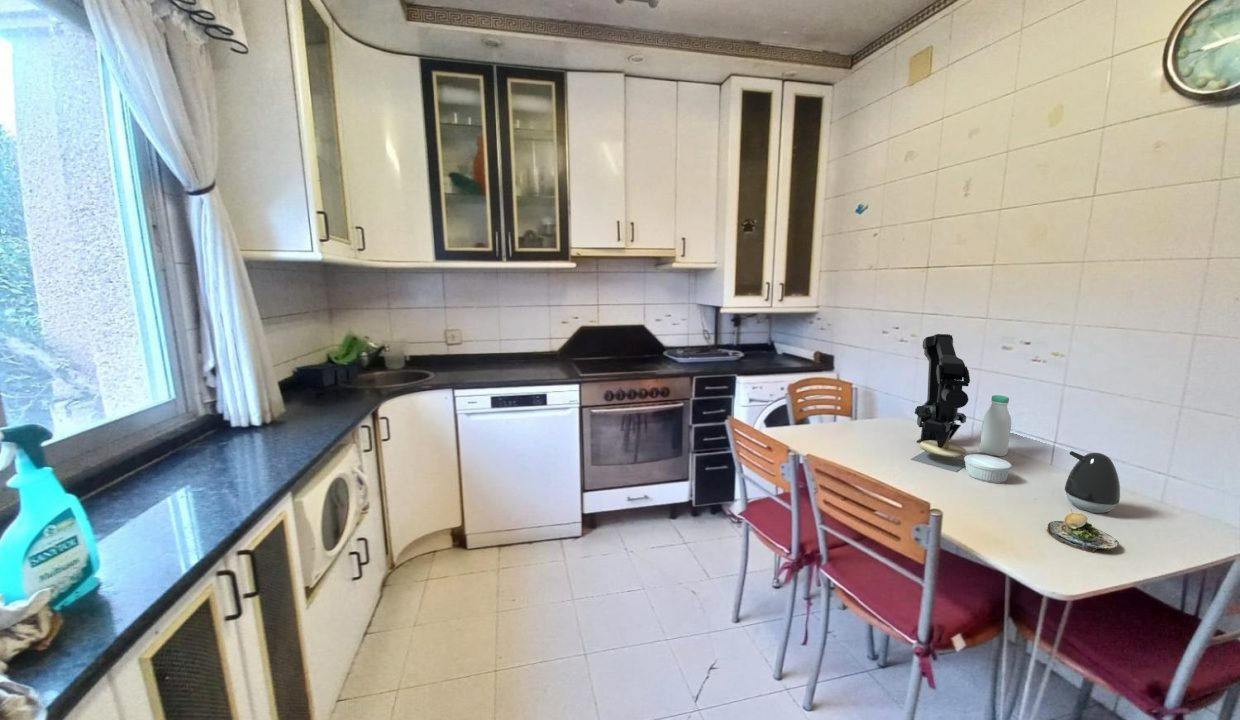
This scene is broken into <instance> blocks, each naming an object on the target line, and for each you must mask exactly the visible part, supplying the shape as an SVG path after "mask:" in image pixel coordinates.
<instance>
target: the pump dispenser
mask: <svg viewBox="0 0 1240 720" xmlns="http://www.w3.org/2000/svg"><path fill="white" fill-rule="evenodd" d="M1069 455H1070V456H1072V457H1074V458H1075V459H1077V460H1078V462H1076V463H1075V464H1074V466H1073V467H1072V469H1071V470H1070V472H1069V474H1068V476H1067V479H1066V481H1065V485H1064V491H1065V494H1066V498H1067V500H1068V501H1069V502H1070V503H1071V505H1073V506H1075V507H1076V508H1078V509H1079V510H1081V511H1082V510H1083V511H1085V512H1090V513H1096V514H1103V513H1108V512H1110V511H1112V510H1113V509H1115V507H1116V505H1118V504H1119V503H1120V502H1121V501H1120V500H1121V485H1120V478H1119V475H1118V471H1117V469H1116V466H1115V464H1114V462H1113V461H1112V459H1111V458H1110V457H1109V456H1107V455H1105V454H1104V453H1101V452H1089V453H1087V454H1085V455H1082V454H1080V453H1078V452H1075V451H1074V450H1071V451H1070V452H1069Z"/></svg>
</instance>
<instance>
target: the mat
mask: <svg viewBox="0 0 1240 720" xmlns="http://www.w3.org/2000/svg"><path fill="white" fill-rule="evenodd" d="M910 460H912V461H915V462H919V463H922V464H926V465H929V466H932V467H937V468H940V469H943V470H947V471H951V472H954V473H958V472H959V471H960V470H961V469H963V468H966V465H965V461H964V458H960V457H949V456H941V455H937V454H933V453H930V452H927V451H925V450H923V451H922V452H920V453H919V454H916V455H914V456H913V457H912V458H910Z"/></svg>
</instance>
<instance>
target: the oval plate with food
mask: <svg viewBox="0 0 1240 720" xmlns="http://www.w3.org/2000/svg"><path fill="white" fill-rule="evenodd" d="M1069 508H1070V512H1071V513H1069V514H1067V515H1066V516H1065V517H1064V520H1053V521H1050V522H1048V524H1047V529H1046V531H1047V534H1048V535H1049V536H1050V537H1052V538H1053V539H1055V540H1056V541H1058V542H1060V543H1061V544H1064V545H1066V546H1069V547H1071V548H1074V549H1077V550H1081V551H1086V552H1087V553H1094V552H1095V551H1097V550H1099V549H1100V550H1110V549H1116V548H1117V547H1118V546H1119V544H1120V543H1119V541H1118V540H1117V539H1116V538H1114V537H1113V536H1111V534H1108V533H1106V532H1104V531H1103V530H1100V529H1098V528H1096V527H1093V524H1091V523H1089V522H1088V517H1087V516H1086V515H1084V514H1081V513H1078V512H1077V513H1075V512H1074V513H1073V510H1072V508H1071V507H1069Z"/></svg>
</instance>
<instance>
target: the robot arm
mask: <svg viewBox="0 0 1240 720" xmlns="http://www.w3.org/2000/svg"><path fill="white" fill-rule="evenodd" d="M922 349H923V351H924V352H923V354H924V356H925V357H926V359H927V360H928V371H927V372H928V375H927V377H928V379H927V398H926V401H925V402H924V404H923V405H918V406H916V407H915V409H914V415H916V416H917V419H916V424H917V426H918V428H921V431H920V433H921V434H920V438H918V439H917V440H916V443H918V444H920V443H921V442H922V441H928V440H933V441H937V444H938V447H940V448H942V447H943V446H944V444H945V442H946V441H947V439H948V437H950V439H949V442H950V441H951V439H953V437H954V435H955V434H956V432H957V431H958V430H959V429H960V427H962V426H961V424H965V423H967V422H966V421H967V416H966V415H965V414H964V412H958V411H959V410H958V409H961V408H963V407H965V406H966V405H967V404H968V402H969V396H968V394H967V393H966V392H965V391H964V390H963V387H969V384H970V382H971V377H970V372H969V371H970V370H969V369H968V366H966V364H965V362H964V360H963V359H962V358H959V357H958V356H957V354H956V349H955V347H954V338H953V335H952V334H949V333H947V334H946V333H945V334H944V333H936V334H934V335H931V336H926V337H925V338H924V339H923V340H922ZM956 421H959V422H960V424H957V422H956Z"/></svg>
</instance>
